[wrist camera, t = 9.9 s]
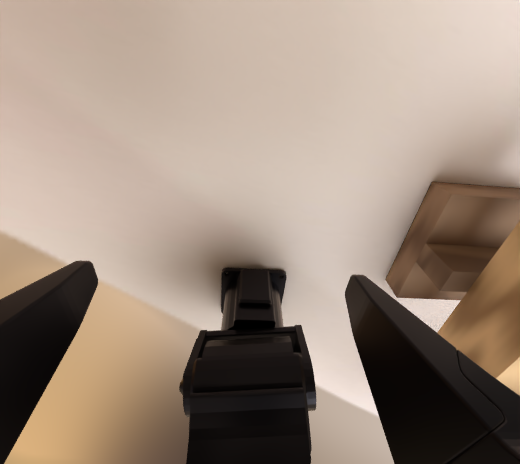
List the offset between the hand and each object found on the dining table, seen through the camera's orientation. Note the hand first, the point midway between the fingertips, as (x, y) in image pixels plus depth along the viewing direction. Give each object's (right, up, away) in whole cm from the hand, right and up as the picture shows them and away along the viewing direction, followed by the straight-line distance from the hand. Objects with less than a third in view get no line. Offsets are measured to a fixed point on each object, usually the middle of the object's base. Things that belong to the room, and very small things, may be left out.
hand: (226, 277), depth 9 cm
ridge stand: (+19, +1, +16) cm, 24 cm away
